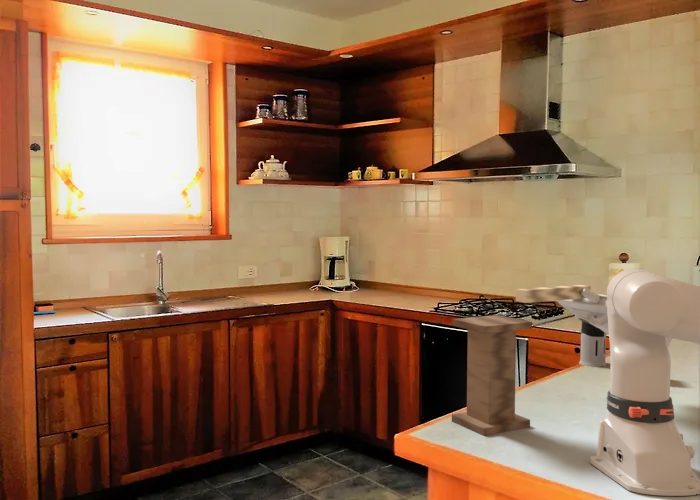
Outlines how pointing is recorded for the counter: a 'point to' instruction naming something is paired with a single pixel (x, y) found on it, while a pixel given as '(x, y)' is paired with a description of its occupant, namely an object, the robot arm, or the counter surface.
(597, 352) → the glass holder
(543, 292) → the maple bar
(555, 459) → the counter surface
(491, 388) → the walnut pedestal
